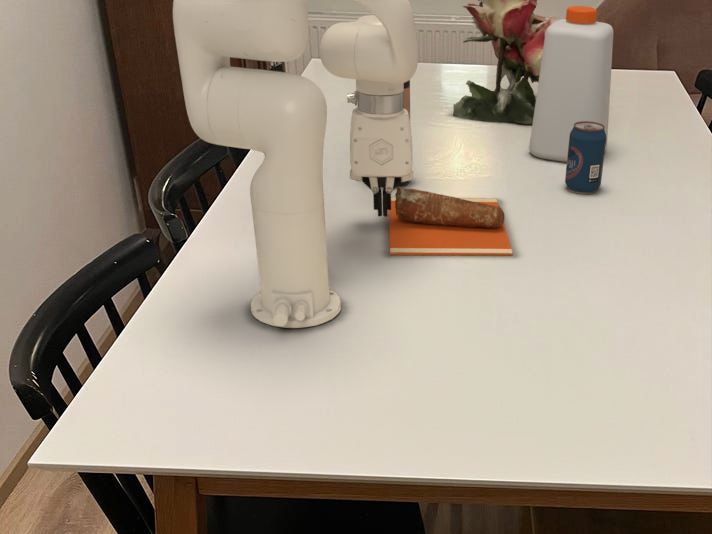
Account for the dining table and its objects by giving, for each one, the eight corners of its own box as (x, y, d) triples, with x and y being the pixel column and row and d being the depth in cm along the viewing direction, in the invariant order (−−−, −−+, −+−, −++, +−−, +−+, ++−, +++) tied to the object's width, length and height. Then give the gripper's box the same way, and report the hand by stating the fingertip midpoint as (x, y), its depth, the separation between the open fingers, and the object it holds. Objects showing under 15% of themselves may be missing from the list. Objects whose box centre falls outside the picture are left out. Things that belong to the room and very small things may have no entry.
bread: (399, 213, 163) (398, 181, 160) (505, 224, 162) (507, 192, 158) (390, 226, 158) (390, 193, 155) (500, 237, 157) (502, 204, 153)
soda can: (557, 185, 181) (563, 122, 174) (587, 181, 183) (594, 118, 176) (576, 197, 176) (583, 132, 169) (607, 192, 178) (615, 128, 171)
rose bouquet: (572, 129, 213) (586, -17, 195) (447, 118, 216) (450, -27, 198) (579, 102, 234) (593, -33, 216) (466, 92, 237) (470, -42, 219)
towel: (512, 255, 151) (512, 253, 151) (390, 254, 149) (390, 252, 149) (496, 200, 172) (496, 198, 172) (388, 199, 170) (388, 197, 170)
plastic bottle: (523, 157, 194) (534, 10, 178) (543, 139, 206) (554, -1, 189) (594, 168, 190) (611, 18, 174) (609, 148, 202) (627, 6, 186)
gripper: (332, 107, 144) (338, 221, 155) (428, 109, 146) (427, 221, 157) (333, 95, 150) (338, 205, 161) (425, 96, 152) (424, 206, 163)
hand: (382, 213), depth 159 cm, fingers closed
